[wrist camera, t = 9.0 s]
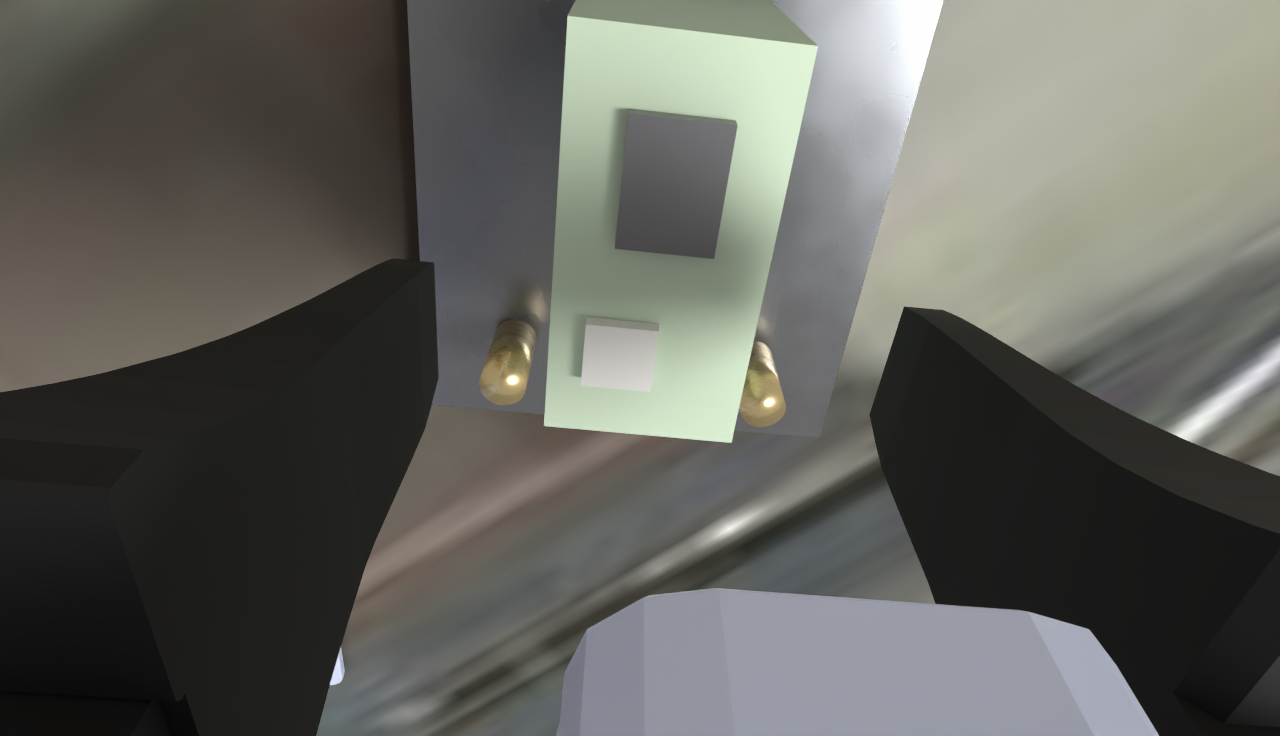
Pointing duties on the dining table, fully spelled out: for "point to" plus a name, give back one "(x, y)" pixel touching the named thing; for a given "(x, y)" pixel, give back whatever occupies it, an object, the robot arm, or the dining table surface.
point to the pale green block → (668, 208)
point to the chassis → (528, 183)
